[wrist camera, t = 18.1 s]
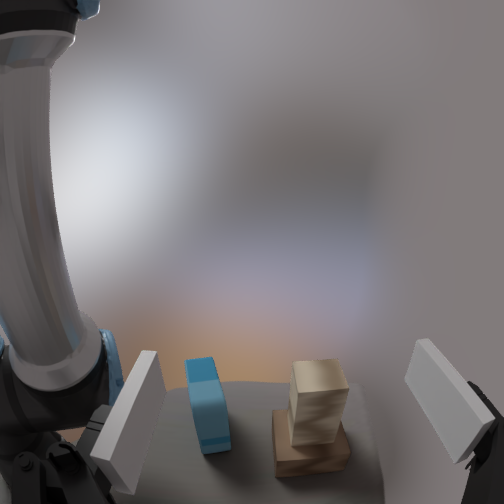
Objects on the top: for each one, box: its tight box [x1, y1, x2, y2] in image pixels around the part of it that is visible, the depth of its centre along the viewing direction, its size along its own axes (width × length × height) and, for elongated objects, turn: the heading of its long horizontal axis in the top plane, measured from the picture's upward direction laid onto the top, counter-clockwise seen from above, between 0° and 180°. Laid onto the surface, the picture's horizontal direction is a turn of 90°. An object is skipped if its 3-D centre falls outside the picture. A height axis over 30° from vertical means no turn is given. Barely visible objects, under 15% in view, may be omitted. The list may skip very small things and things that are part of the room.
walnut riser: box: [272, 410, 351, 478], centre depth 36 cm, size 10×10×5 cm
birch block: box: [287, 359, 349, 447], centre depth 34 cm, size 6×6×11 cm
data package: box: [184, 357, 231, 454], centre depth 40 cm, size 12×4×12 cm, turn 16°
